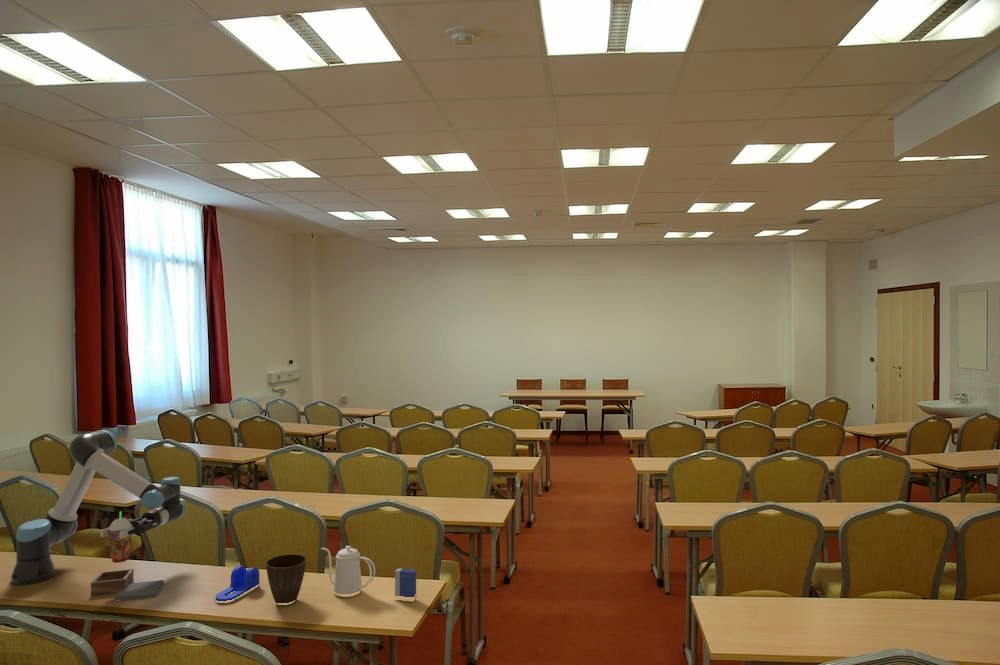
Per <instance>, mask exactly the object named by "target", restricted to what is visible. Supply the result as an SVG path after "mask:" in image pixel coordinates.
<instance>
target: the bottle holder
mask: <svg viewBox="0 0 1000 665" xmlns="http://www.w3.org/2000/svg"><path fill="white" fill-rule="evenodd" d="M134 571H135V570H134V568H130V569H129V568H128V569H118V570H108V571H107V570H106V571H101V572H100V573H99V574H98V575H97V576H96V577H95V578H94V579H93V580H92V581H91V582H90V596H97V595H98V596H99V595H108V593H110V594H117V593H116V592H120V591H121V589H122V588H126V586H127V585H128V584H129V583H134V575H135V574H134V573H135V572H134Z"/></svg>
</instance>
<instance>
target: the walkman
mask: <svg viewBox="0 0 1000 665" xmlns="http://www.w3.org/2000/svg"><path fill="white" fill-rule="evenodd" d="M394 575H395V576H394V597H395V596H404V597H414V596H415V594H416V595H417V570H416V569H414V568H410V569H408V568H407V569H406V568H401V567H399V568H397V569H396V570H394Z"/></svg>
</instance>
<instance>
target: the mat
mask: <svg viewBox="0 0 1000 665" xmlns="http://www.w3.org/2000/svg"><path fill="white" fill-rule="evenodd" d="M164 584H165V580H164V579H160V580H148V581H141V582H140V581H139V582H138V581H137V582H132V583H129V584H128V585H127V586H126V588H122V589H121V591H120V592H119V593H116V596H115V597H114V602H117V601H116V600H123V601H129V600H130V601H131V600H139V599H140V600H141V599H147V598H156V596H157V595H158V594H159V592H160V591H161V589H162V587H163V586H164Z"/></svg>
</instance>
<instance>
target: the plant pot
mask: <svg viewBox="0 0 1000 665" xmlns="http://www.w3.org/2000/svg"><path fill="white" fill-rule="evenodd" d="M306 564H307V556H304V555H302V554H295V553H294V554H293V553H292V554H282V555H277V556H274V557H272V558H269V559H268V560H266V562H265V568H266V574H267V578H268V584H269V588H270V592H271V595H272V597H273V600H274V602H276V603H289V602H292V601H294V600H296V601H297V599H298V596H299V594H300V590H301V588H302V584H303V581H304V576H305V572H306V571H305V570H306ZM276 603H275V604H276Z"/></svg>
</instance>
